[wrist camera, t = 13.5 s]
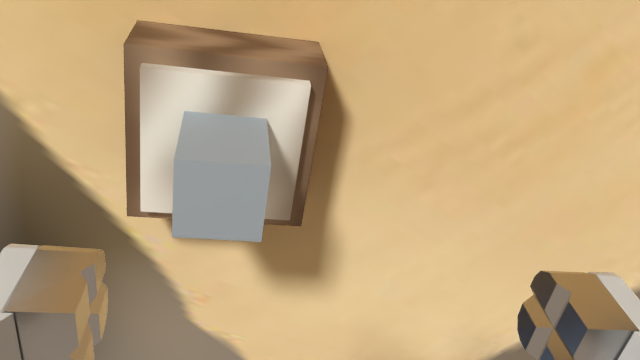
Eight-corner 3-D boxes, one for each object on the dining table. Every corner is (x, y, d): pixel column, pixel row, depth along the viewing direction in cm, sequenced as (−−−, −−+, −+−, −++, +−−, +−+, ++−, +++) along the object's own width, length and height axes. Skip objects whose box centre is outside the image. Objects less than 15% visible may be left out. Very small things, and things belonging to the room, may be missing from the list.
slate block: (266, 118, 35) (271, 166, 30) (258, 187, 37) (261, 242, 32) (184, 110, 34) (173, 158, 29) (181, 181, 36) (171, 237, 31)
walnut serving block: (318, 42, 38) (329, 71, 34) (295, 189, 44) (302, 232, 39) (137, 20, 36) (121, 48, 31) (138, 178, 42) (125, 222, 37)
